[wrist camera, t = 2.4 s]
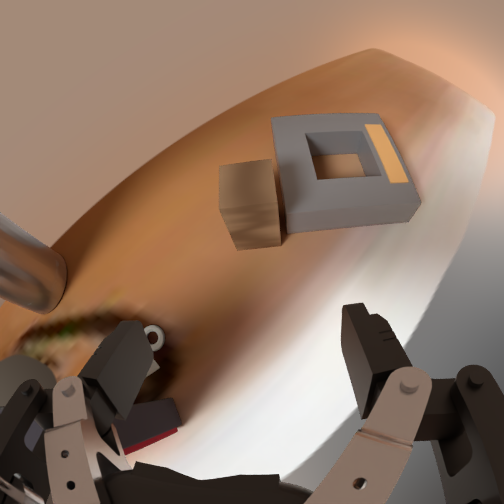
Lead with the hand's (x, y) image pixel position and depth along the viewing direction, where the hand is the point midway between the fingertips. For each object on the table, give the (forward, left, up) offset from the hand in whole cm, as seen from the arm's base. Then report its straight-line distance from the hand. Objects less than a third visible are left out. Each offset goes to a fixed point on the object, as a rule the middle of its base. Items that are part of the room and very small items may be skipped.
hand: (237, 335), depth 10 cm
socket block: (+10, +19, -15) cm, 26 cm away
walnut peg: (0, +13, -15) cm, 20 cm away
